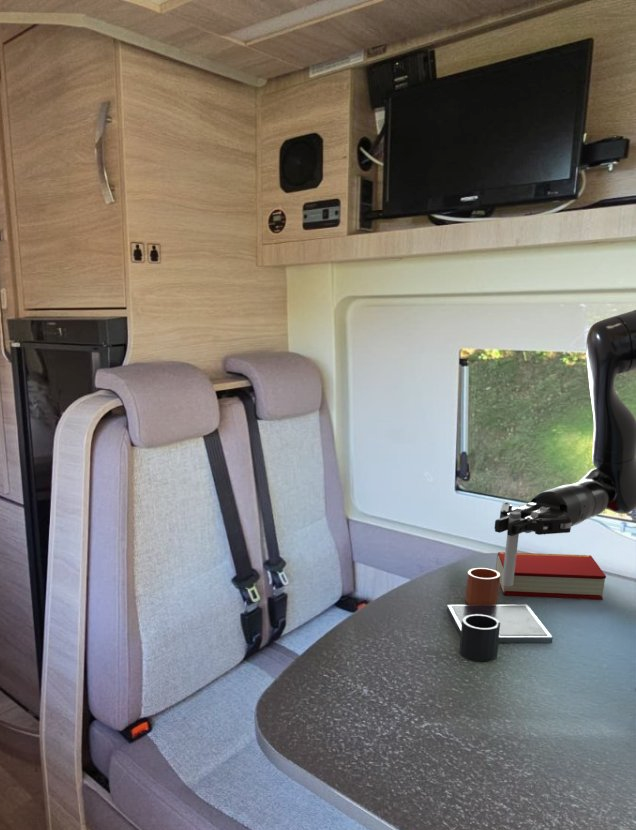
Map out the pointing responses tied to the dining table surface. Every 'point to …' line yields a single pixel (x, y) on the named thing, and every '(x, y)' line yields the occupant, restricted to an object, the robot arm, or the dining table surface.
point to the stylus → (510, 553)
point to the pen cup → (482, 586)
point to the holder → (479, 637)
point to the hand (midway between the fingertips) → (503, 528)
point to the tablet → (506, 622)
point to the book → (554, 576)
